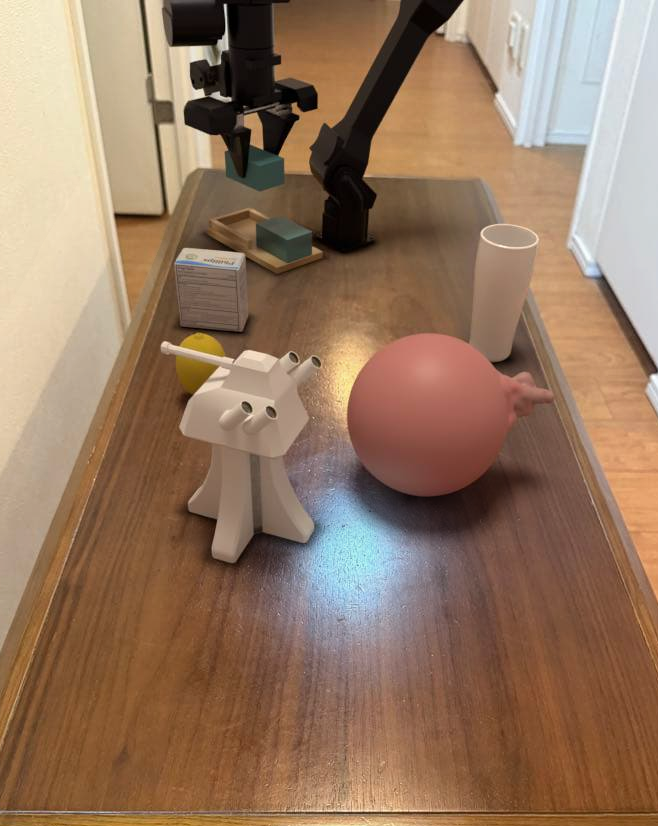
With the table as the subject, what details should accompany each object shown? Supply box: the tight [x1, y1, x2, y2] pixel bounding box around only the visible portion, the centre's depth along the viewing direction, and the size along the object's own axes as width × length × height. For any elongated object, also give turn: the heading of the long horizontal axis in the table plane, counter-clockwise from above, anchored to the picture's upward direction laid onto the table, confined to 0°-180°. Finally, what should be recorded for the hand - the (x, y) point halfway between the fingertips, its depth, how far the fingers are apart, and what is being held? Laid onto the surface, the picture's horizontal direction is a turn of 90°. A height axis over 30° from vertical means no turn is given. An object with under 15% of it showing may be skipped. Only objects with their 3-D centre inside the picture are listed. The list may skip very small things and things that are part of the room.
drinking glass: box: [468, 223, 540, 363], centre depth 99 cm, size 7×7×15 cm
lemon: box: [175, 332, 227, 396], centre depth 91 cm, size 6×6×8 cm
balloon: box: [346, 332, 556, 497], centre depth 80 cm, size 15×20×15 cm
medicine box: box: [173, 247, 250, 333], centre depth 103 cm, size 8×4×9 cm, turn 84°
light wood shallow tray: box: [206, 207, 324, 275], centre depth 121 cm, size 16×9×4 cm, turn 44°
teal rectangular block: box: [224, 144, 285, 192], centre depth 114 cm, size 7×5×3 cm, turn 47°
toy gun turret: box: [160, 340, 323, 564], centre depth 73 cm, size 12×13×18 cm
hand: (255, 173), depth 114 cm, fingers closed on teal rectangular block, 4 cm apart
